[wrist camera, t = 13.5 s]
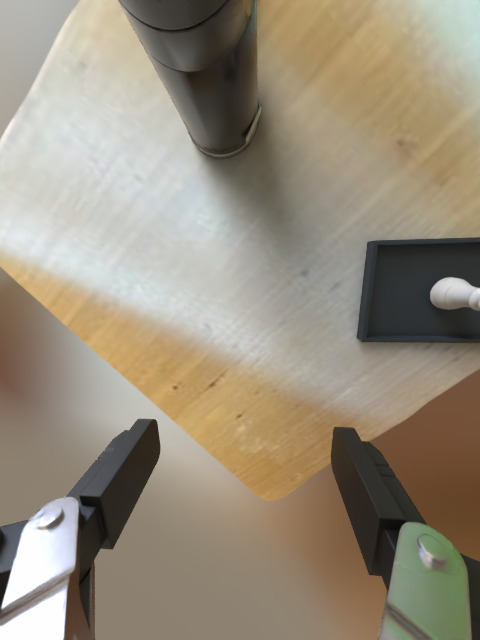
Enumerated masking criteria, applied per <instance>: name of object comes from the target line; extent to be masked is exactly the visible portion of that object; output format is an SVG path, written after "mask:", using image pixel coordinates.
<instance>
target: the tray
mask: <svg viewBox="0 0 480 640" xmlns="http://www.w3.org/2000/svg"><path fill="white" fill-rule="evenodd" d="M448 277H453V278H459V279H463V280H465V281H467V282H468V283H469V284H470V285H471V286H473V287H477V288H480V237H479V238H446V239H413V240H380V241H370V242H368V243H367V252H366V261H365V270H364V278H363V287H362V296H361V305H360V314H359V323H358V331H357V338H358V339H359V340H360V341H362V342H447V343H480V311H477V310H474V309H472V308H471V307H461V308H458V309H451V310H447V309H441V308H437V307H436V306H435V305H433V304H432V302H431V300H430V292H431V290H432V287H433V286H434V285H435V284H436V283H437V282H438V281H440V280H442V279H444V278H448Z"/></svg>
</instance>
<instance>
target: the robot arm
mask: <svg viewBox="0 0 480 640" xmlns="http://www.w3.org/2000/svg"><path fill="white" fill-rule="evenodd" d="M118 2H119V3H120V5H121V7H122V9H123V11H124V13H125V15H126V16H127V18H128V20H129V22H130V24H131V26H132V27H133V29H134V31H135V33H136V35H137V36H138V38H139V40H140V42H141V44H142V46H143V47H144V49H145V51H146V53H147V55H148V57H149V59H150V60H151V62H152V64H153V66H154V68H155V70H156V72H157V73H158V75H159V77H160V79H161V81H162V83H163V85H164V86H165V88H166V90H167V92H168V94H169V96H170V98H171V99H172V101H173V103H174V105H175V107H176V109H177V111H178V112H179V114H180V116H181V118H182V120H183V122H184V124H185V126H186V127H187V130H188V132H189V134H190V136H191V138H192V140H193V142H194V143H195V145H196V146H197V147H198V148H199V149H200V150H201V151H202V152H203V153H205V154H207V155H208V156H211V157H214V158H220V159H224V158H229V157H232V156H235V155H237V154H238V153H240V152H241V151H243V150H244V149H245V148H246V147H247V146H248V144H249V143H250V141H251V140H252V138H253V136H254V134H255V131H256V128H257V124H258V118H259V116H260V114H261V106H260V108H259V111H258V99H257V94H258V85H257V0H118ZM159 455H160V440H159V432H158V425H157V421H156V420H155V419H138V420H137V421H136V422H135V423H134V425H133V426H132V427H131V429H130V430H125V431H124V432H122V433H121V434H119V435H118V436H117V437H115V438H114V439H113V440H112V441H111V443H110V444H109V445H108V446H107V448H106V449H105V451H103V452H102V454H101V455H100V456H99V457H98V460H96V461H95V462H94V463H93V464H92V466H91V467H90V468H89V469H88V471H87V472H86V473H85V474H84V476H83V477H82V478H81V479H80V480H79V482H78V483H77V484H76V485H75V486H74V488H73V489H72V490H71V491H70V492H69V494H68V495H67V496H66V497H63V498H59V499H56V500H54V501H52V502H50V503H49V504H47V505H45V506H44V507H42V508H41V509H40V510H39V511H38V512H36V513H35V514H34V515H33V516H32V517H31V518H30V519H29V520H25V521H21V522H17V523H13V524H10V525H5V526H2V527H0V640H95V565H94V559H95V557H96V556H97V554H98V552H99V550H100V548H102V549H113V548H114V546H115V544H116V542H117V540H118V538H119V536H120V534H121V532H122V530H123V528H124V526H125V524H126V522H127V520H128V518H129V516H130V514H131V513H132V511H133V509H134V507H135V504H136V503H137V501H138V499H139V497H140V495H141V493H142V491H143V489H144V487H145V485H146V483H147V481H148V479H149V477H150V475H151V473H152V471H153V469H154V467H155V465H156V464H157V461H158V459H159ZM331 464H332V469H333V473H334V476H335V479H336V482H337V484H338V487H339V490H340V493H341V495H342V498H343V502H344V504H345V507H346V510H347V513H348V516H349V519H350V521H351V524H352V527H353V530H354V533H355V536H356V539H357V541H358V544H359V547H360V549H361V553H362V555H363V559H364V561H365V564H366V567H367V570H368V572H369V575H376V576H382V578H383V581H384V584H385V586H386V588H387V594H386V599H385V605H384V609H383V615H382V621H381V626H380V631H379V637H378V640H480V562H479V561H477V560H474V559H472V558H469V557H467V556H465V555H463V554H461V553H459V552H458V551H457V549H456V548H455V547H454V546H453V544H452V543H451V542H450V541H449V540H448V539H446V538H445V537H444V536H443V535H442V534H440V533H439V532H438V531H436V530H435V529H433V528H431V527H429V526H428V525H427V524H426V522H425V521H424V519H423V518H422V516H421V515H420V513H419V512H418V510H417V509H416V507H415V505H414V504H413V502H412V501H411V499H410V497H409V496H408V494H407V493H406V491H405V490H404V488H403V486H402V485H401V483H400V482H399V480H398V479H397V478H396V477H395V474H394V472H393V471H392V469H391V468H390V467H389V465H388V463H387V461H386V460H385V458H384V457H383V455H382V453H381V452H380V451H379V450H378V449H377V448H375V447H374V446H373V445H372V444H371V443H370V442H364V441H361V439H360V437H359V436H358V434H357V432H356V430H355V429H354V428H350V427H334V430H333V439H332V450H331Z"/></svg>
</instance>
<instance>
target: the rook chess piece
mask: <svg viewBox="0 0 480 640" xmlns="http://www.w3.org/2000/svg"><path fill="white" fill-rule="evenodd" d="M430 300H431V302H432V304H433V305H435V306H436V307H437V308H441V309H447V310H451V309H458V308H461V307H471V308H472V309H474V310H477V311H480V288H477V287H473V286H471V285H470V284H469V283H468V282H467V281H465V280H463V279H459V278H453V277H448V278H444V279H442V280H440V281H438V282H437V283H436V284H435V285H434V286H433V287H432V290H431V292H430Z"/></svg>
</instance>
